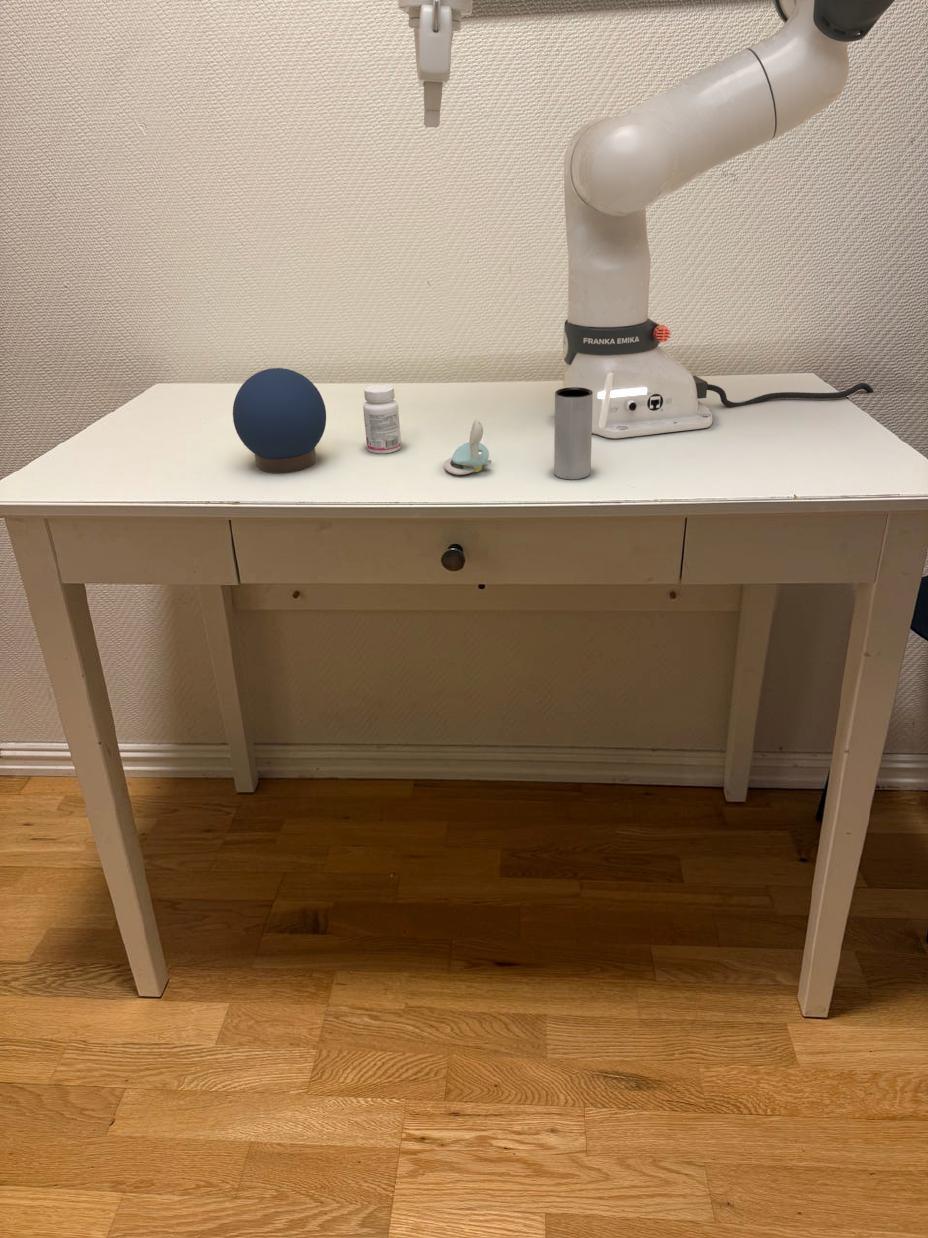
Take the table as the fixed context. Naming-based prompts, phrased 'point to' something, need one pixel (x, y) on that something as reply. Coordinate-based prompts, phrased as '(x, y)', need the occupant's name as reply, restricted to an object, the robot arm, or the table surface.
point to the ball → (279, 414)
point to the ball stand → (286, 463)
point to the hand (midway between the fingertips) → (431, 127)
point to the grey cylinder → (573, 432)
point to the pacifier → (470, 453)
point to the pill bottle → (381, 419)
